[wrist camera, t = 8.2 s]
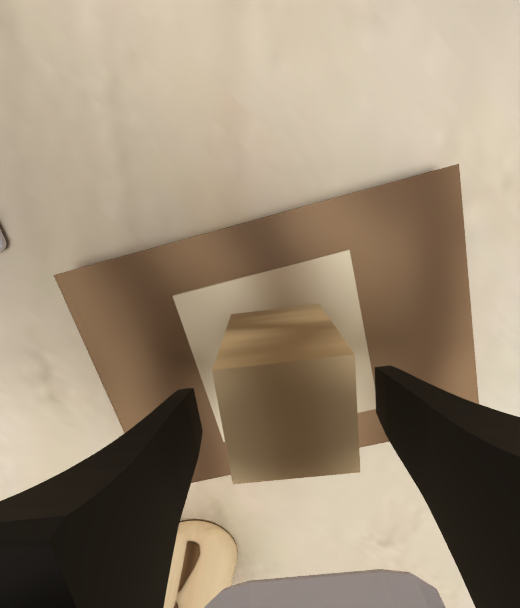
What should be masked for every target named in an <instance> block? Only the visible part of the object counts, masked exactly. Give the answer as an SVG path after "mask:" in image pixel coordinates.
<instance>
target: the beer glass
mask: <svg viewBox="0 0 520 608" xmlns="http://www.w3.org/2000/svg"><path fill="white" fill-rule="evenodd" d="M236 563H237V547H236V544H235V542H234V540H233V538H232V537H231V536H230V535H229V534H228V533H227V532H226V531H225V530H224V529H222V528H221V527H219V526H217V525H215V524H213V523H210V522H206V521H199V520H190V521H184V522H180V523H179V527H178V532H177V537H176V542H175V547H174V552H173V557H172V562H171V568H170V574H169V579H168V585H167V590H166V596H165V602H164V608H204V607H205V606H206V605H207V604H208V603H209V602H210V601H211V600H212V599H213V598H214V597H215V596H216V595H218V594H219V593H220V592H221V591H222V590H223V589H224V588H227V587H230V586H231V584H232V580H233V576H234V572H235V568H236Z"/></svg>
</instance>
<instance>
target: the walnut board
mask: <svg viewBox="0 0 520 608" xmlns="http://www.w3.org/2000/svg"><path fill="white" fill-rule="evenodd" d="M54 277H55V279H56V281H57V284H58V286H59V288H60V290H61V292H62V295H63V297H64V299H65V301H66V304H67V306H68V308H69V310H70V313H71V315H72V317H73V319H74V321H75V324H76V326H77V328H78V330H79V333H80V335H81V337H82V339H83V342H84V344H85V346H86V348H87V350H88V353H89V355H90V357H91V359H92V362H93V364H94V366H95V368H96V370H97V373H98V375H99V377H100V379H101V382H102V384H103V386H104V388H105V391H106V393H107V395H108V397H109V399H110V402H111V404H112V406H113V408H114V411H115V413H116V415H117V417H118V420H119V422H120V424H121V426H122V428H123V431H124V433H126V432H127V431H128V430H130V429H131V428H132V427H133V426H135V425H136V424H137V423H139V422H140V421H141V420H142V419H144V418H145V417H146V416H147V415H148V414H150V413H151V412H152V411H153V410H154V409H155V408H157V407H158V406H159V405H160V404H161V403H162V402H164V401H165V400H166V399H167V398H168V397H169V396H171V395H172V394H173V393H174V392H176V391H177V390H179V389H186V388H194V392H195V397H196V401H197V406H198V411H199V416H200V420H201V425H202V430H203V433H202V440H201V446H200V452H199V457H198V460H197V464H196V467H195V471H194V474H193V478H192V481H191V483H193V482H198V481H202V480H207V479H212V478H217V477H221V476H226V475H231V471H230V465H229V460H228V455H227V449H226V444H225V438H224V433H223V428H222V422H221V417H220V411H219V406H218V400H217V395H216V390H215V384H214V379H213V373H212V369H213V366H214V363H215V360H216V357H217V354H218V351H219V348H220V345H221V342H222V340H223V337H224V334H225V331H226V328H227V325H228V322H229V319H230V316H231V314H237V313H246V312H254V311H263V310H271V309H280V308H288V307H297V306H305V305H314V304H320V305H321V307H322V308H323V310H324V311H325V313H326V314H327V315H328V317H329V318H330V320H331V321H332V323H333V324H334V325H335V327H336V328H337V330H338V331H339V333H340V334H341V335H342V337H343V338H344V340H345V341H346V343H347V344H348V345H349V347H350V348H351V350H352V351H353V353H354V354H355V369H356V391H357V413H358V435H359V448H360V447H365V446H369V445H374V444H379V443H384V442H389V439H388V438H387V436H386V434H385V432H384V430H383V428H382V425H381V423H380V421H379V418H378V416H377V414H376V399H375V367H380V366H389V365H391V366H393V367H396V368H398V369H400V370H403V371H405V372H407V373H409V374H411V375H413V376H415V377H417V378H419V379H421V380H423V381H425V382H427V383H429V384H432V385H434V386H436V387H438V388H440V389H442V390H445V391H447V392H449V393H452V394H454V395H456V396H459V397H461V398H464V399H466V400H469V401H471V402H474V403H477V404H479V400H478V388H477V376H476V364H475V352H474V340H473V328H472V316H471V304H470V292H469V280H468V268H467V255H466V243H465V231H464V219H463V207H462V195H461V183H460V171H459V164H457V165H453V166H449V167H446V168H442V169H438V170H435V171H431V172H428V173H424V174H420V175H417V176H413V177H409V178H406V179H402V180H398V181H395V182H391V183H387V184H384V185H380V186H377V187H373V188H369V189H366V190H362V191H358V192H355V193H351V194H347V195H344V196H340V197H337V198H333V199H329V200H326V201H322V202H318V203H315V204H311V205H307V206H304V207H300V208H297V209H293V210H289V211H286V212H282V213H278V214H275V215H271V216H267V217H264V218H260V219H256V220H253V221H249V222H246V223H242V224H238V225H235V226H231V227H227V228H224V229H220V230H216V231H213V232H209V233H206V234H202V235H198V236H195V237H191V238H187V239H184V240H180V241H176V242H173V243H169V244H166V245H162V246H158V247H155V248H151V249H147V250H144V251H140V252H136V253H133V254H129V255H126V256H122V257H118V258H115V259H111V260H107V261H104V262H100V263H96V264H93V265H89V266H85V267H82V268H78V269H75V270H71V271H67V272H64V273H60V274H56V275H54Z"/></svg>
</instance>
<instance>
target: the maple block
mask: <svg viewBox="0 0 520 608" xmlns="http://www.w3.org/2000/svg"><path fill="white" fill-rule="evenodd" d="M212 373H213V379H214V384H215V390H216V395H217V400H218V406H219V411H220V417H221V422H222V428H223V433H224V438H225V444H226V449H227V455H228V460H229V465H230V471H231V476H232V482H233V484H240V483H250V482H261V481H272V480H282V479H293V478H304V477H314V476H325V475H336V474H346V473H357V472H360V457H359V435H358V413H357V391H356V369H355V354H354V353H353V351H352V350H351V348H350V347H349V345H348V344H347V343H346V341H345V340H344V338H343V337H342V335H341V334H340V333H339V331H338V330H337V328H336V327H335V325H334V324H333V323H332V321H331V320H330V318H329V317H328V315H327V314H326V313H325V311H324V310H323V308H322V307H321V305H320V304H314V305H305V306H297V307H288V308H280V309H271V310H263V311H254V312H246V313H237V314H231V316H230V319H229V322H228V325H227V328H226V331H225V334H224V337H223V340H222V342H221V345H220V348H219V351H218V354H217V357H216V360H215V363H214V366H213V369H212Z"/></svg>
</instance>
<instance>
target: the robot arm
mask: <svg viewBox="0 0 520 608" xmlns="http://www.w3.org/2000/svg"><path fill="white" fill-rule="evenodd" d="M5 248H6V240H5V238H4V236H3V234H2V232H1V229H0V251H2V250H4V249H5ZM375 399H376V414H377V416H378V418H379V421H380V423H381V425H382V428H383V430H384V432H385V434H386V436H387V438H388V439H389V441H390V443H391V444H392V446H393V448H394V449H395V451H396V453H397V454H398V456H399V458H400V459H401V461H402V462H403V464H404V466H405V467H406V469H407V471H408V472H409V474H410V475H411V477H412V479H413V480H414V482H415V484H416V485H417V487H418V488H419V490H420V492H421V494H422V495H423V497H424V499H425V501H426V503H427V504H428V506H429V509H430V511H431V513H432V515H433V517H434V519H435V521H436V523H437V525H438V527H439V529H440V531H441V533H442V535H443V537H444V539H445V541H446V543H447V546H448V548H449V550H450V552H451V554H452V556H453V558H454V560H455V563H456V565H457V567H458V569H459V571H460V573H461V576H462V578H463V580H464V582H465V585H466V587H467V589H468V591H469V594H470V596H471V598H472V600H473V603H474V605H475V607H476V608H520V417H517V416H513V415H510V414H507V413H503V412H500V411H497V410H494V409H491V408H488V407H485V406H482V405H479V404H477V403H474V402H471V401H469V400H466V399H464V398H461V397H459V396H456V395H454V394H452V393H449V392H447V391H445V390H442V389H440V388H438V387H436V386H434V385H432V384H429V383H427V382H425V381H423V380H421V379H419V378H417V377H415V376H413V375H411V374H409V373H407V372H405V371H403V370H400V369H398V368H396V367H393V366H391V365H389V366H380V367H375ZM202 433H203V430H202V425H201V420H200V416H199V411H198V406H197V401H196V397H195V392H194V388H186V389H179V390H177V391H176V392H174V393H173V394H172V395H171V396H169V397H168V398H167V399H166V400H165V401H164V402H162V403H161V404H160V405H159V406H158V407H157V408H155V409H154V410H153V411H152V412H151V413H150V414H148V415H147V416H146V417H145V418H144V419H142V420H141V421H140V422H139V423H137V424H136V425H135V426H133V427H132V428H131V429H130V430H128V431H127V432H126V433H125V434H123V435H122V436H120V437H119V438H118V439H116V440H115V441H113V442H112V443H111V444H109V445H107V446H106V447H104V448H103V449H101V450H100V451H98V452H97V453H95V454H94V455H92V456H90V457H88V458H87V459H85V460H83V461H82V462H80V463H78V464H76V465H75V466H73V467H71V468H69V469H68V470H66V471H64V472H62V473H60V474H58V475H56V476H54V477H52V478H50V479H48V480H47V481H44V482H42V483H40V484H38V485H36V486H34V487H32V488H30V489H28V490H25V491H23V492H21V493H19V494H16V495H14V496H12V497H9V498H7V499H4V500H2V501H0V608H164V602H165V596H166V590H167V585H168V579H169V574H170V568H171V562H172V557H173V552H174V547H175V542H176V537H177V532H178V527H179V523H180V519H181V515H182V511H183V508H184V504H185V501H186V498H187V494H188V491H189V488H190V484H191V481H192V478H193V474H194V471H195V467H196V464H197V460H198V457H199V452H200V446H201V440H202ZM204 608H445V605H444V603H443V601H442V599H441V597H440V595H439V593H438V591H437V589H436V588H434V587H433V586H431V585H429V584H428V583H426V582H425V581H423V580H422V579H420V578H418V577H417V576H415V575H413V574H411V573H409V572H402V571H393V570H383V569H378V570H367V571H355V572H344V573H332V574H321V575H309V576H298V577H287V578H275V579H264V580H252V581H247V582H244V583H240V584H237V585H234V586H230V587H227V588H224V589H223V590H222V591H221V592H220V593H219V594H218V595H216V596H215V597H214V598H213V599H212V600H211V601H210V602H209V603H208V604H207V605H206V606H205V607H204Z"/></svg>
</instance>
